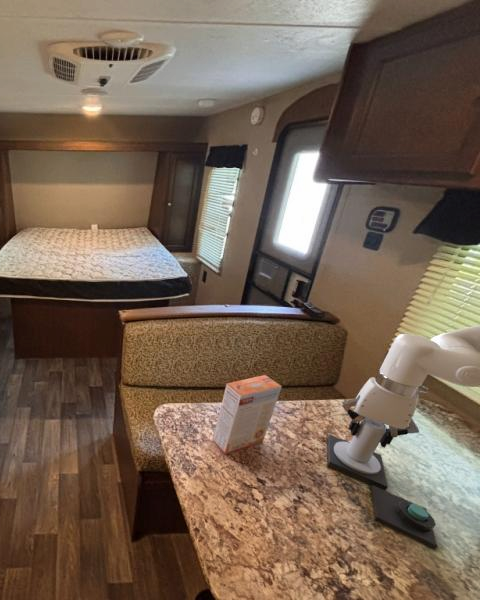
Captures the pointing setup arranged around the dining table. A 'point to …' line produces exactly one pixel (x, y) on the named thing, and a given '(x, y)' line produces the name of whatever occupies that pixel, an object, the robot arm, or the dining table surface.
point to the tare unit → (401, 517)
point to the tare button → (417, 512)
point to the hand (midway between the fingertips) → (367, 437)
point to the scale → (355, 464)
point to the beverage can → (366, 440)
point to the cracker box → (245, 413)
